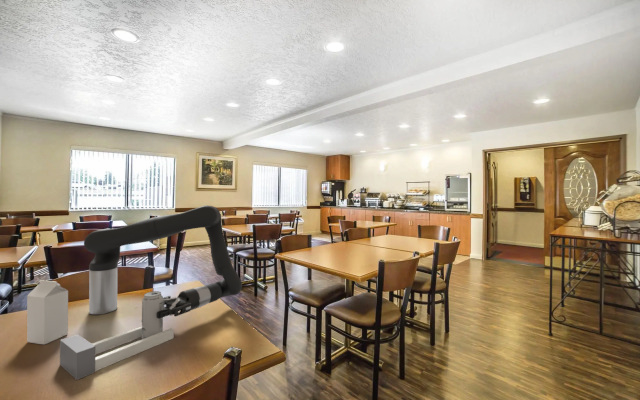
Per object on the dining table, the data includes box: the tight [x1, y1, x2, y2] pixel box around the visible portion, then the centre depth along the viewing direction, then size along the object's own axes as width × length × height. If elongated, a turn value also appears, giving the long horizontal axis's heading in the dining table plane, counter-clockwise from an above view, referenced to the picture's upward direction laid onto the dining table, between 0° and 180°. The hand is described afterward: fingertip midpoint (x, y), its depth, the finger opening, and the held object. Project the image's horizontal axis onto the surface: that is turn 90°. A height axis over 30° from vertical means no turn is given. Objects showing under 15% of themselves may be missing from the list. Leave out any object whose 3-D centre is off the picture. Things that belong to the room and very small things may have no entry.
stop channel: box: [59, 325, 175, 381], centre depth 88 cm, size 12×26×7 cm, turn 147°
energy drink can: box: [141, 290, 164, 340], centre depth 96 cm, size 6×6×15 cm
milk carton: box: [26, 279, 69, 345], centre depth 95 cm, size 7×7×19 cm
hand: (150, 312), depth 95 cm, fingers open, 8 cm apart
